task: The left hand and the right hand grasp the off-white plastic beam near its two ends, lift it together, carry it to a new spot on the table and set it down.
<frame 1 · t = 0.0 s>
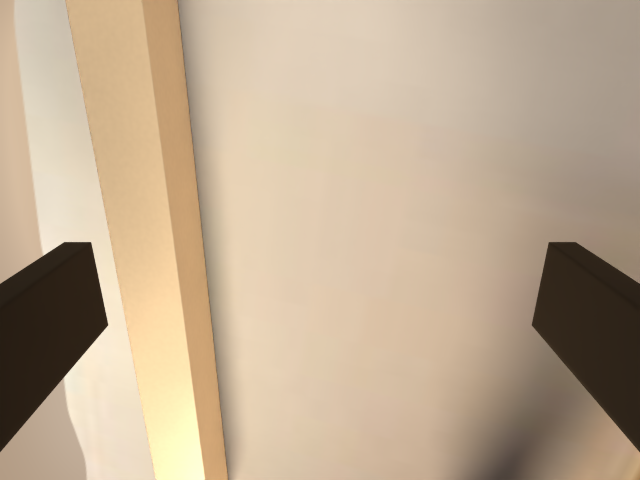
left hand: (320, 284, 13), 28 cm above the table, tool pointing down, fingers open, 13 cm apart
beam: (182, 279, 44), on the table
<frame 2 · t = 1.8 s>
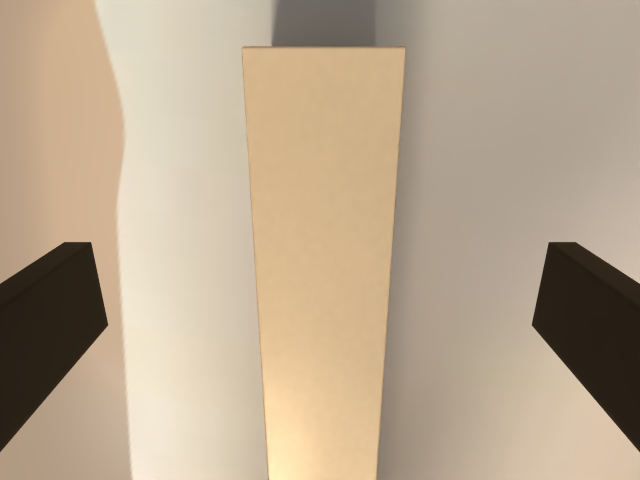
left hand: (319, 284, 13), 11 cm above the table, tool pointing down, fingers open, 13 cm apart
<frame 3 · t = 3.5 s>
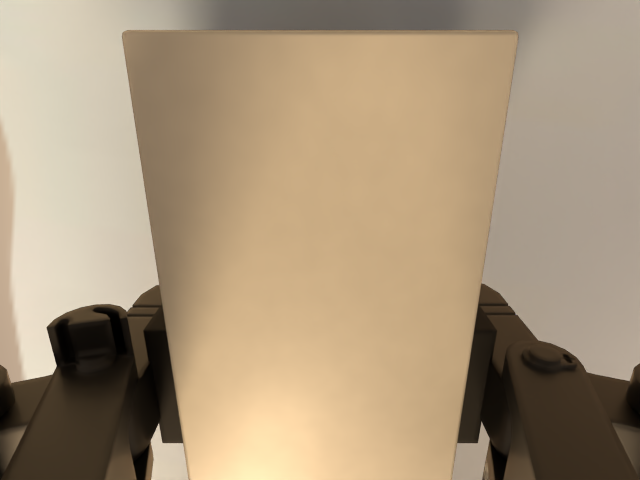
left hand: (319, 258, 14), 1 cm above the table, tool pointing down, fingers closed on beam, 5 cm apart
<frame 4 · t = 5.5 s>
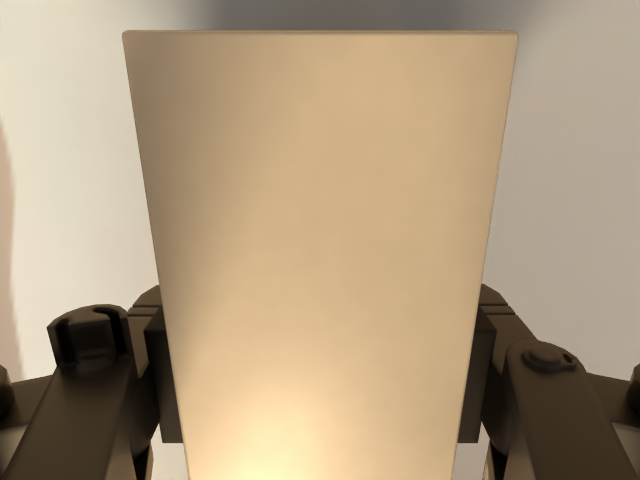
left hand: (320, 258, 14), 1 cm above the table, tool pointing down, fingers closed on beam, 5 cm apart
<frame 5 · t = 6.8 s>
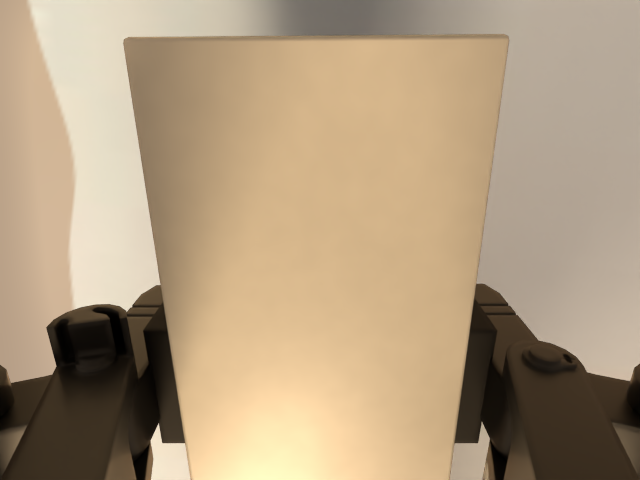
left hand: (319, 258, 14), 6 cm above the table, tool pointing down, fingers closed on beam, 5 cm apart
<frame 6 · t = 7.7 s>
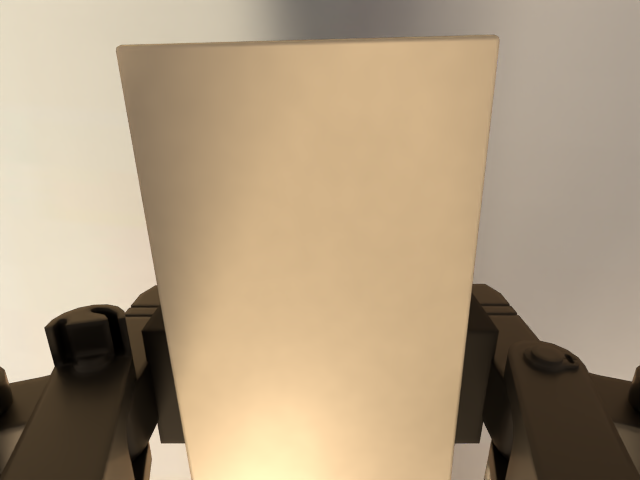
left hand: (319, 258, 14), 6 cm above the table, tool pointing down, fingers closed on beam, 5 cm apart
when the left hand's fingers open (2 cm above the table, at t = 10.1 s): beam stays where it is, on the table.
when the right hand's fingers open (4 cm above the table, at t = 10.2 s): beam stays where it is, on the table.
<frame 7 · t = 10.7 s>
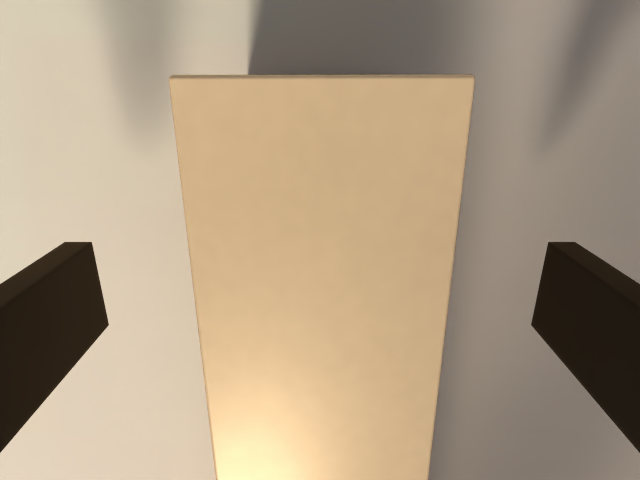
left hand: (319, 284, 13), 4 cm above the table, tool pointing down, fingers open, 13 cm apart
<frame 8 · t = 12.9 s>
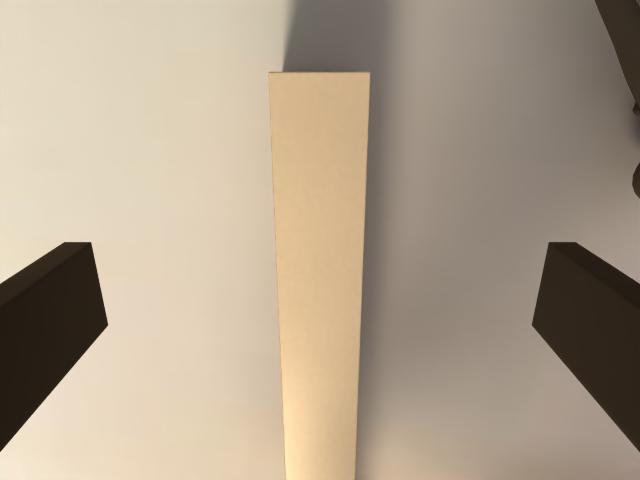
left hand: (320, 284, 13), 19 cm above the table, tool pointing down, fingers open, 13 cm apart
beam: (320, 436, 39), on the table
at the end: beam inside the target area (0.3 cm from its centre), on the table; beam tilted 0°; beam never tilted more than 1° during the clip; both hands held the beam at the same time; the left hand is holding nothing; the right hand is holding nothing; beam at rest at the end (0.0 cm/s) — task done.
